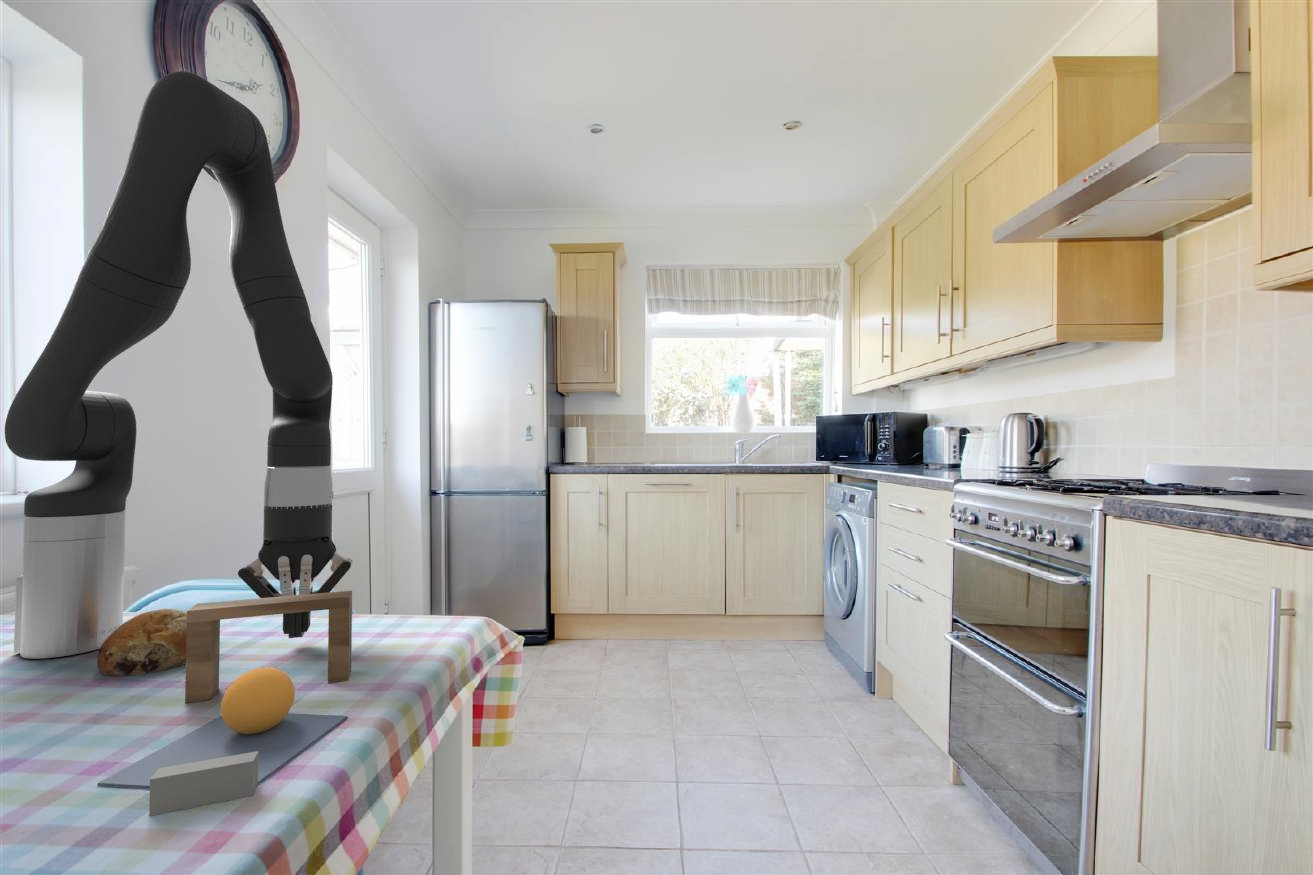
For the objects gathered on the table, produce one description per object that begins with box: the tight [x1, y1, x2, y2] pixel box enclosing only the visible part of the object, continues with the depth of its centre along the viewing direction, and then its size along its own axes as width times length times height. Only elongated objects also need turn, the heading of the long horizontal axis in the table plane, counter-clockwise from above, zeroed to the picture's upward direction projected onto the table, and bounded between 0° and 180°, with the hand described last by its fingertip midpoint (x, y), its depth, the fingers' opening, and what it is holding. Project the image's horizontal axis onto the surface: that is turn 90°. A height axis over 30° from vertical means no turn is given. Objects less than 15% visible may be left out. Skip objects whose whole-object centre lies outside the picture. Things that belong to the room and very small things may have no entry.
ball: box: [220, 666, 296, 734], centre depth 52 cm, size 6×6×6 cm
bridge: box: [184, 590, 353, 704], centre depth 61 cm, size 3×14×9 cm, turn 113°
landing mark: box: [97, 712, 348, 790], centre depth 48 cm, size 12×12×1 cm
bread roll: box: [96, 608, 187, 677], centre depth 69 cm, size 10×10×8 cm
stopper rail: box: [148, 751, 259, 817], centre depth 41 cm, size 2×6×2 cm, turn 113°
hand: (296, 635), depth 73 cm, fingers closed
